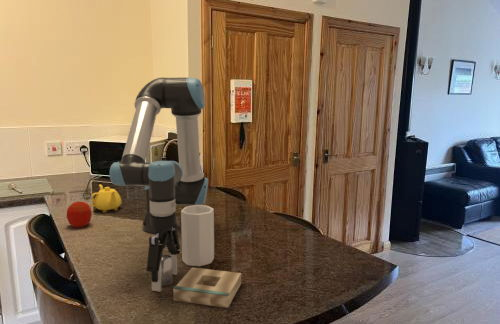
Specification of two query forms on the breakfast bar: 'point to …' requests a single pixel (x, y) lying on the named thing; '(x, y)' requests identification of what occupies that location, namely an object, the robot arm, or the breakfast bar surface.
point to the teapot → (106, 199)
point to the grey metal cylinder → (166, 270)
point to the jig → (208, 287)
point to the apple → (79, 214)
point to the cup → (197, 235)
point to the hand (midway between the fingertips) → (165, 281)
